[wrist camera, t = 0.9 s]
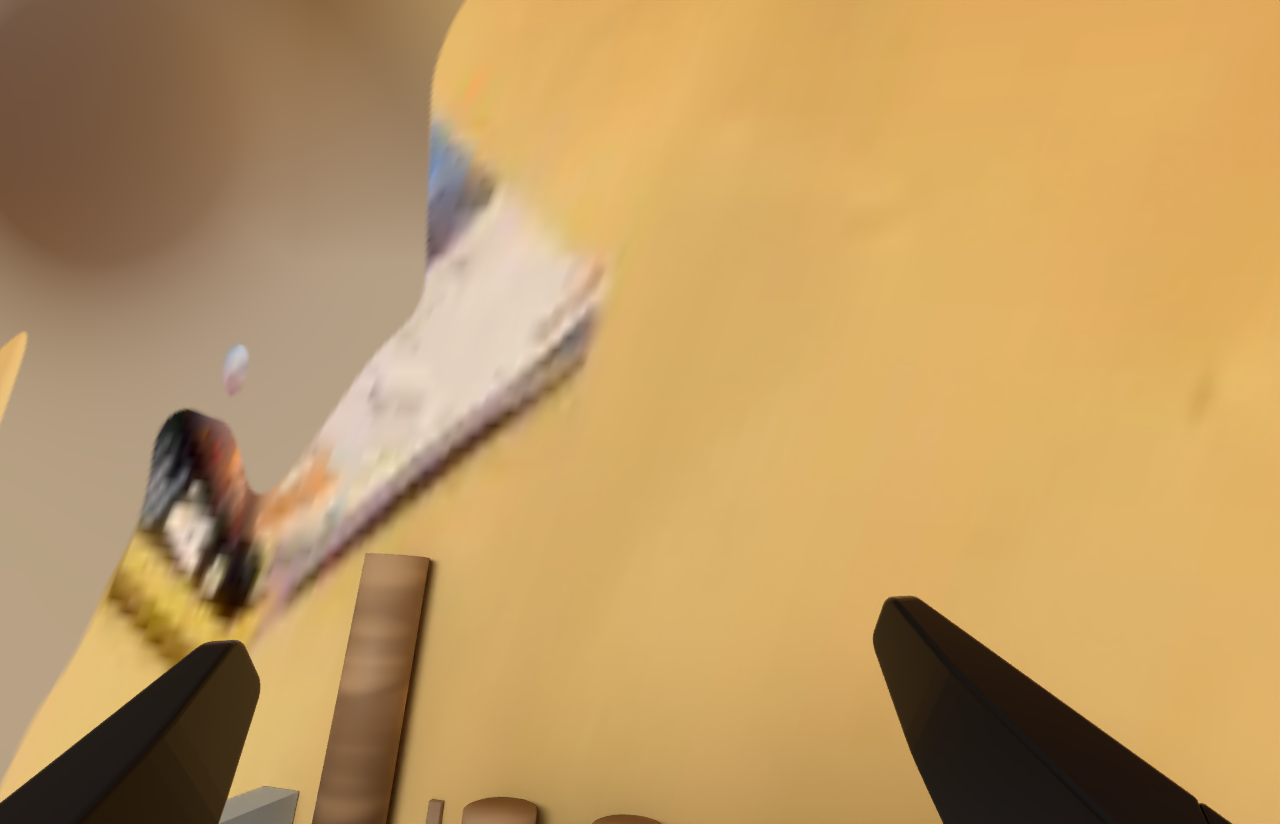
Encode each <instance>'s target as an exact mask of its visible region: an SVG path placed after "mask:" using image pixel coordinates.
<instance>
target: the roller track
mask: <svg viewBox="0 0 1280 824" xmlns="http://www.w3.org/2000/svg"><path fill="white" fill-rule="evenodd" d="M443 806H444V801H441V800H435V799H432V800H430V801H429V805H428V812H427V819H426V824H441V820H442V813H443ZM536 815H537V808H536V806H535V805H534V804H532V803H531V802H528V801H526V800H522V799H517V798H509V797H495V798H486V799H481V800H478V801H475V802H472V803H470V804H468V805H467V806H466V807H465V808H464V810H463V817H462V824H536ZM593 824H661V823H659V822H657V821H655V820H652V819H649V818H646V817H641V816H635V815H612V816H607V817H603V818H600V819H598V820H596V821H595V822H594V823H593Z"/></svg>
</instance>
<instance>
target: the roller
mask: <svg viewBox="0 0 1280 824" xmlns="http://www.w3.org/2000/svg"><path fill="white" fill-rule="evenodd" d="M429 559H430V558H426V557H417V556H406V555H393V554H374V553H366V554H365V559H364V564H363V569H362V575H361V580H360V585H359V590H358V595H357V600H356V605H355V610H354V615H353V620H352V625H351V630H350V635H349V640H348V645H347V650H346V655H345V660H344V665H343V670H342V675H341V680H340V685H339V690H338V695H337V700H336V705H335V710H334V715H333V720H332V725H331V730H330V735H329V740H328V745H327V750H326V755H325V760H324V765H323V771H322V776H321V781H320V786H319V791H318V796H317V801H316V806H315V811H314V816H313V821H312V824H386V820H387V814H388V808H389V802H390V796H391V790H392V784H393V778H394V772H395V766H396V760H397V754H398V748H399V742H400V735H401V729H402V723H403V717H404V711H405V705H406V699H407V693H408V687H409V681H410V675H411V669H412V663H413V657H414V650H415V644H416V638H417V632H418V626H419V620H420V614H421V608H422V602H423V596H424V590H425V584H426V578H427V572H428V565H429Z"/></svg>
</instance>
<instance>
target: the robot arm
mask: <svg viewBox="0 0 1280 824" xmlns="http://www.w3.org/2000/svg"><path fill="white" fill-rule="evenodd" d="M873 645H874V649H875V653H876V655H877V658H878V661H879V664H880V667H881V670H882V673H883V675H884V678H885V681H886V684H887V687H888V690H889V692H890V695H891V698H892V701H893V704H894V707H895V710H896V712H897V715H898V718H899V721H900V724H901V727H902V730H903V732H904V735H905V738H906V741H907V743H908V746H909V748H910V751H911V754H912V756H913V758H914V760H915V763H916V765H917V767H918V770H919V772H920V774H921V776H922V778H923V781H924V783H925V785H926V787H927V789H928V791H929V794H930V796H931V798H932V800H933V802H934V804H935V807H936V809H937V811H938V813H939V815H940V818H941V820H942V822H943V824H1232V823H1231V822H1229V821H1228V820H1226V819H1225V818H1224V817H1222V816H1221V815H1219V814H1218V813H1217V812H1215V811H1214V810H1212V809H1211V808H1210V807H1208V806H1207V805H1205V804H1203V803H1198V801H1197V799H1196V798H1195V797H1194V796H1193V795H1191V794H1190V793H1189V792H1187V791H1186V790H1184V789H1183V788H1182V787H1180V786H1179V785H1177V784H1176V783H1175V782H1173V781H1172V780H1170V779H1169V778H1168V777H1166V776H1165V775H1164V774H1162V773H1161V772H1159V771H1158V770H1157V769H1155V768H1154V767H1152V766H1151V765H1150V764H1148V763H1147V762H1146V761H1144V760H1143V759H1141V758H1140V757H1139V756H1137V755H1136V754H1134V753H1133V752H1132V751H1130V750H1129V749H1127V748H1126V747H1125V746H1123V745H1122V744H1121V743H1119V742H1118V741H1116V740H1115V739H1114V738H1112V737H1111V736H1109V735H1108V734H1107V733H1105V732H1104V731H1102V730H1101V729H1100V728H1098V727H1097V726H1096V725H1094V724H1093V723H1091V722H1090V721H1089V720H1087V719H1086V718H1084V717H1083V716H1082V715H1080V714H1079V713H1077V712H1076V711H1075V710H1073V709H1072V708H1071V707H1069V706H1068V705H1066V704H1065V703H1064V702H1062V701H1061V700H1059V699H1058V698H1057V697H1055V696H1054V695H1052V694H1051V693H1050V692H1048V691H1047V690H1046V689H1044V688H1043V687H1041V686H1040V685H1039V684H1037V683H1036V682H1034V681H1033V680H1032V679H1030V678H1029V677H1027V676H1026V675H1025V674H1023V673H1022V672H1021V671H1019V670H1018V669H1016V668H1015V667H1014V666H1012V665H1011V664H1009V663H1008V662H1007V661H1005V660H1004V659H1002V658H1001V657H1000V656H998V655H997V654H996V653H994V652H993V651H991V650H990V649H989V648H987V647H986V646H984V645H983V644H982V643H980V642H979V641H977V640H976V639H975V638H973V637H972V636H971V635H969V634H968V633H966V632H965V631H964V630H962V629H961V628H959V627H958V626H957V625H955V624H954V623H953V622H951V621H950V620H948V619H947V618H946V617H944V616H943V615H941V614H940V613H939V612H937V611H936V610H934V609H933V608H932V607H930V606H929V605H928V604H926V603H925V602H923V601H922V600H920V599H919V598H917V597H914V596H897V597H889V598H888V599H887V600H886V601H885V602H884V604H883V607H882V610H881V613H880V615H879V618H878V621H877V624H876V627H875V630H874V633H873ZM259 694H260V679H259V676H258V674H257V671H256V669H255V667H254V665H253V663H252V660H251V658H250V656H249V654H248V652H247V649H246V647H245V646H244V644H243V643H242V642H240V641H238V640H227V641H212V642H207V643H204V644H202V645H200V646H199V647H197V648H196V649H195V650H193V651H192V652H191V653H190V654H188V655H187V656H186V657H185V658H183V659H182V660H181V661H179V662H178V663H177V664H176V665H174V666H173V667H172V668H171V669H169V670H168V671H167V672H166V673H164V674H163V675H162V676H160V677H159V678H158V679H157V680H155V681H154V682H153V683H152V684H150V685H149V686H148V687H147V688H145V689H144V690H143V691H141V692H140V693H139V694H138V695H136V696H135V697H134V698H133V699H131V700H130V701H129V702H128V703H126V704H125V705H124V706H122V707H121V708H120V709H119V710H117V711H116V712H115V713H114V714H112V715H111V716H110V717H109V718H107V719H106V720H105V721H103V722H102V723H101V724H100V725H98V726H97V727H96V728H95V729H93V730H92V731H91V732H90V733H88V734H87V735H86V736H84V737H83V738H82V739H81V740H79V741H78V742H77V743H76V744H74V745H73V746H72V747H71V748H69V749H68V750H67V751H65V752H64V753H63V754H62V755H60V756H59V757H58V758H57V759H55V760H54V761H53V762H52V763H50V764H49V765H48V766H46V767H45V768H44V769H43V770H41V771H40V772H39V773H38V774H36V775H35V776H34V777H33V778H31V779H30V780H29V781H27V782H26V783H25V784H24V785H22V786H21V787H20V788H19V789H17V790H16V791H15V792H14V793H12V794H11V795H10V796H8V797H7V798H6V799H5V800H3V801H2V802H1V803H0V824H219V821H220V818H221V816H222V813H223V810H224V807H225V804H226V801H227V798H228V794H229V791H230V788H231V785H232V782H233V779H234V775H235V772H236V769H237V766H238V763H239V759H240V756H241V753H242V750H243V747H244V743H245V740H246V737H247V734H248V731H249V727H250V724H251V721H252V718H253V715H254V712H255V708H256V705H257V702H258V699H259Z"/></svg>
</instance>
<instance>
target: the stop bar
mask: <svg viewBox="0 0 1280 824" xmlns="http://www.w3.org/2000/svg"><path fill="white" fill-rule="evenodd" d="M298 794H299V791H292V790H286V789H279V788H273V787H267V786H263V787H260V788H258V789H255V790H252V791H249V792H247V793H244V794H241V795H238V796H236V797H233V798H230V799H227V801H226V804H225V807H224V810H223V813H222V816H221V818H220V821H219V824H292V823H293V818H294V813H295V808H296V804H297V799H298Z"/></svg>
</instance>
